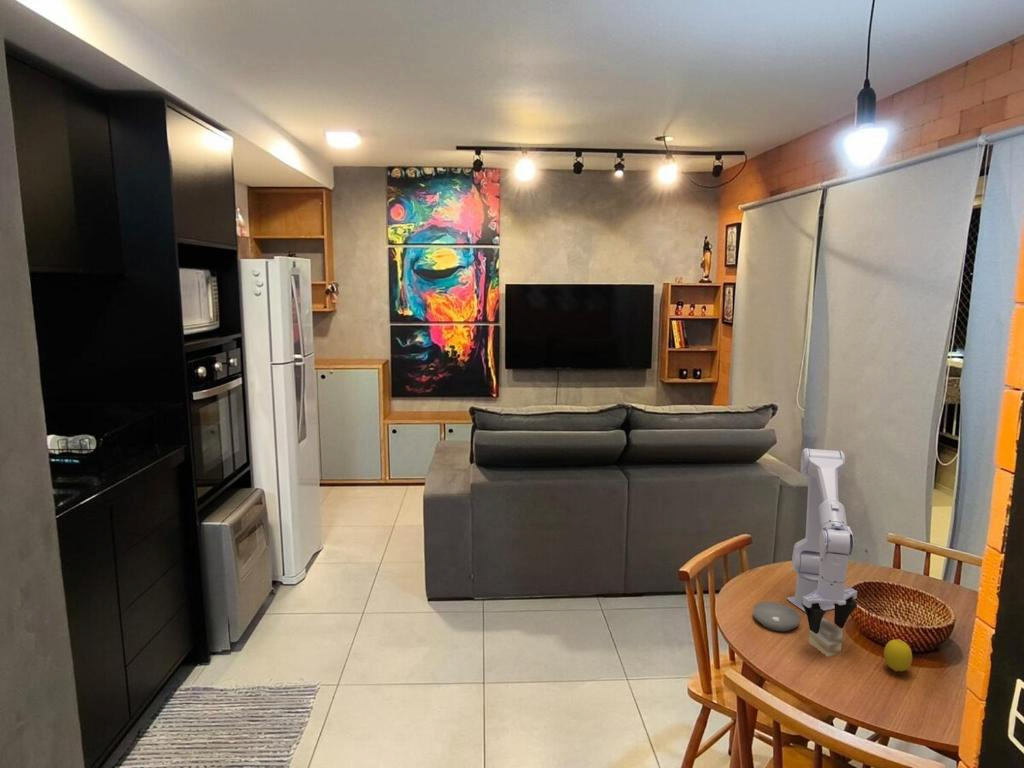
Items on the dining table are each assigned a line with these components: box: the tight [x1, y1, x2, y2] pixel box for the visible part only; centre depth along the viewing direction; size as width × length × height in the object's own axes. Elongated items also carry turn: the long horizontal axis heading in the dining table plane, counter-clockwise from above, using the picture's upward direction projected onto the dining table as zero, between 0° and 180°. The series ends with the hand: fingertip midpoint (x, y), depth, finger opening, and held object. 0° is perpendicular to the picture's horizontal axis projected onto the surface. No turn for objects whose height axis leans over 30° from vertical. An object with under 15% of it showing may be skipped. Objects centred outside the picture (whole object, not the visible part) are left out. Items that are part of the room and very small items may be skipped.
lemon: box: [883, 638, 913, 673], centre depth 142 cm, size 6×6×8 cm
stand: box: [752, 601, 800, 632], centre depth 162 cm, size 11×11×2 cm
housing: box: [808, 617, 844, 657], centre depth 151 cm, size 4×6×6 cm, turn 17°
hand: (826, 628), depth 150 cm, fingers open, 7 cm apart
